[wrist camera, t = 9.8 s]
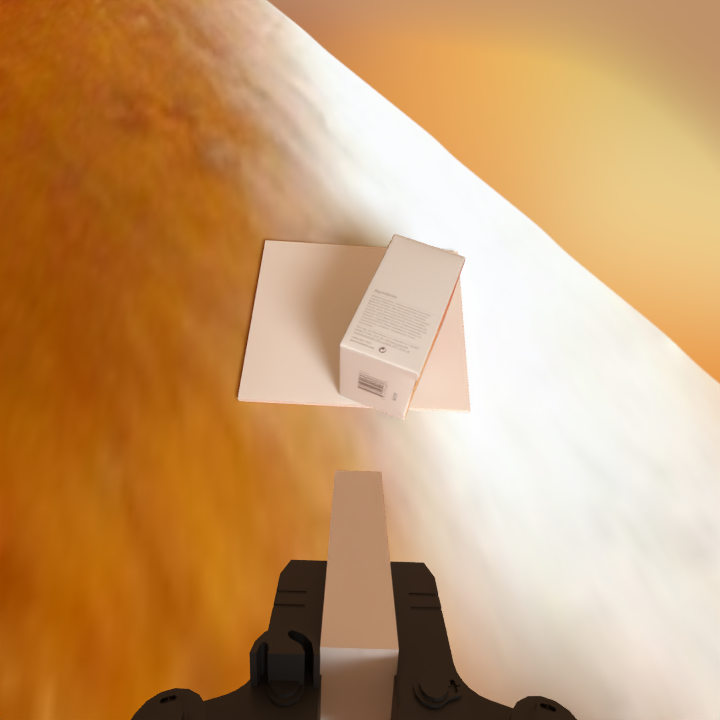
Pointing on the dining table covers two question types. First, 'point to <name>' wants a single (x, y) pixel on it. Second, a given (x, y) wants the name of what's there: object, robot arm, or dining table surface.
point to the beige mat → (332, 330)
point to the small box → (397, 325)
